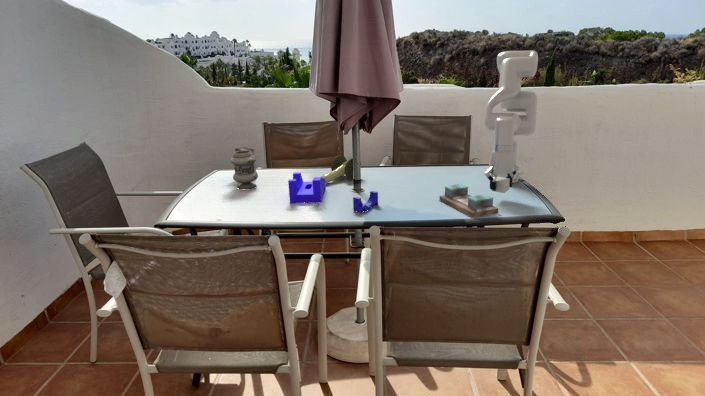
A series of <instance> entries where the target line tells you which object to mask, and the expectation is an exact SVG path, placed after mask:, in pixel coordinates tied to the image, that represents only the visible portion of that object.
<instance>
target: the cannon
mask: <svg viewBox="0 0 705 396" xmlns="http://www.w3.org/2000/svg"><path fill="white" fill-rule="evenodd" d="M353 158H354V157H350V158H349V159H348V160H347V158H346V157H345V156H344V155H341V154H339V155H336V156H335V157H334V158H333V159H332V162H331V167H330V172H327V173H326V174H323V175H321V176H320V177H322V178H323V179H325V185H326V184H329V183H330V182H333V181H334V179H337V178H342V177H343V176H344V175H345V177H346V178H347V180H350V181H354V180H353ZM360 165H361V166H362V164H361V162H360Z"/></svg>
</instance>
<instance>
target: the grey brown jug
mask: <svg viewBox="0 0 705 396" xmlns="http://www.w3.org/2000/svg"><path fill="white" fill-rule="evenodd" d="M234 150H235V151H234V152H236V151H241V150H250V151H251V152H252V155H254V156H255V155H256V154H255V149H254V148H251V147H247V146H244V147H243V146H242V147H237V148H235V149H234ZM255 157H256V156H255ZM254 169H255V171H256V172H257V168H256V161H255V162H254Z"/></svg>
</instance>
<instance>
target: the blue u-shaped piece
mask: <svg viewBox="0 0 705 396" xmlns="http://www.w3.org/2000/svg"><path fill="white" fill-rule="evenodd" d="M352 203H353V208H352V210H353V212H355V211H357V212H356V213H358V212H361V213H360V214H363V213H362V212H363V211H364V213H366V212H365V211H367V210H369V211H371V210H372V208H375V207H377V206H379V192H378V191H375V190H370V191H369V196H368V199H367V201H366V202H365V203H364V204H363V201H362V197H358V196H354V197H352ZM374 206H375V207H374ZM371 207H372V208H371ZM370 209H371V210H370ZM367 212H368V211H367Z"/></svg>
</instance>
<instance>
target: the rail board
mask: <svg viewBox="0 0 705 396" xmlns="http://www.w3.org/2000/svg"><path fill="white" fill-rule="evenodd" d="M468 192H469V186H467V185H465V184H463V183H458V184H452V185H445V186H444V194H443V195H439V201H440V202H441V203H443V204H445V205H447V206H448V207H451V208H453V209H455V210H457V211H459V212H460V213H462V214H463V215H465V216H467V217H470V218H471V219H473V218H478V217H484V216H489V215H495V214H496V215H497V214H498V213H499V208H498V207H496V206H494V197H492V196H490V195H489V194H479V195H473V196H472V195H471V194H469V193H468Z"/></svg>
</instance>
